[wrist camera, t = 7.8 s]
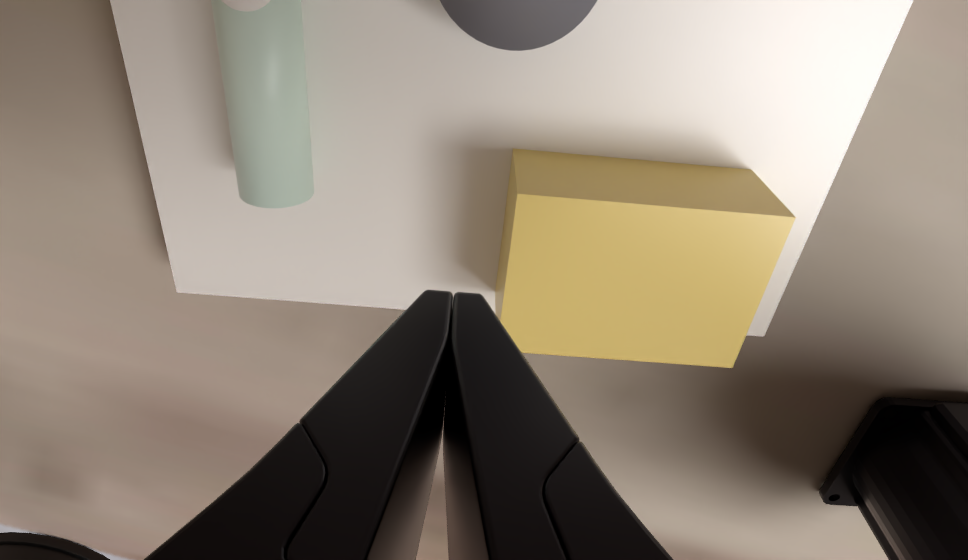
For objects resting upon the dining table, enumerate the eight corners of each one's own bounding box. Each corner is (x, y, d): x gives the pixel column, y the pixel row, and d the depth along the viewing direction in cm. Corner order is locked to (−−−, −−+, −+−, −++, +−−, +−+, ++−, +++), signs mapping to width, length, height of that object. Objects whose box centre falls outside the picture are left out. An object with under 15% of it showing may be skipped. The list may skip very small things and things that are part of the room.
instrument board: (748, 310, 22) (801, 397, 18) (195, 268, 21) (132, 351, 18) (940, -156, 15) (1099, -168, 11) (88, -256, 14) (-63, -308, 10)
